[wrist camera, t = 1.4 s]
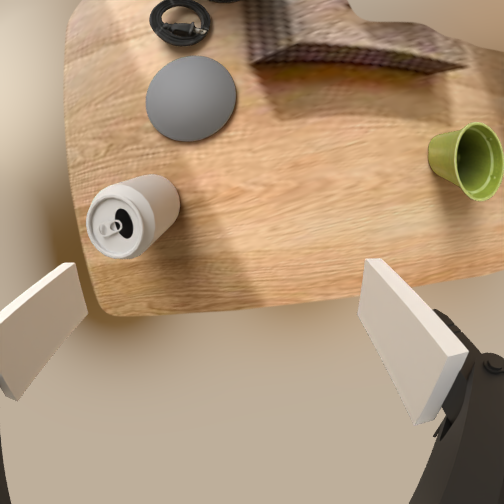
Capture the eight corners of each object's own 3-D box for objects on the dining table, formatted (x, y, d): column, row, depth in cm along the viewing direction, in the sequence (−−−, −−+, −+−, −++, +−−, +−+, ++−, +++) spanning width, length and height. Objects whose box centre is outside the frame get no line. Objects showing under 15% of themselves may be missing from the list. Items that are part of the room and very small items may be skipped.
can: (188, 224, 37) (159, 258, 25) (136, 235, 37) (93, 271, 26) (174, 166, 34) (136, 177, 23) (122, 181, 35) (70, 199, 23)
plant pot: (474, 158, 32) (513, 165, 24) (443, 202, 35) (480, 217, 26) (440, 109, 30) (478, 106, 22) (405, 154, 33) (441, 159, 25)
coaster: (149, 63, 29) (147, 61, 28) (236, 55, 29) (236, 53, 28) (147, 144, 33) (145, 144, 32) (235, 140, 33) (235, 139, 32)
